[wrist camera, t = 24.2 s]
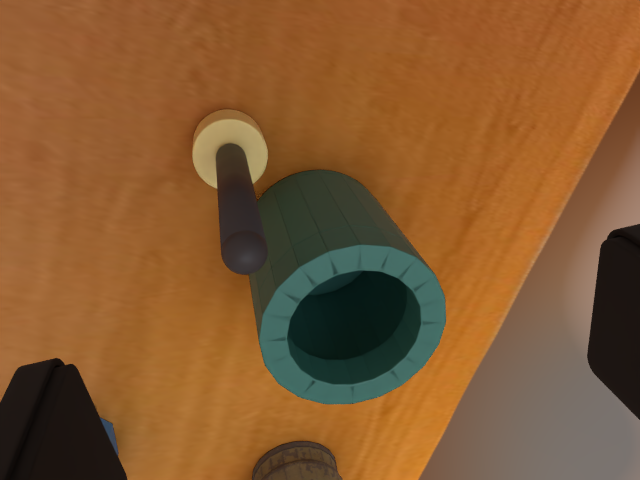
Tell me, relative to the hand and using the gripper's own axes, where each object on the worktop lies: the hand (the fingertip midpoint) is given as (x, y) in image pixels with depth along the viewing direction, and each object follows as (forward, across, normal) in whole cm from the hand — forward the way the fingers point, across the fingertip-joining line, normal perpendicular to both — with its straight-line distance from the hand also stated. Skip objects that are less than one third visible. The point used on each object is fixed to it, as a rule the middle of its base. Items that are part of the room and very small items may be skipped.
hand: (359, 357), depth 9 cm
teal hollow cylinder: (+30, -3, +13) cm, 33 cm away
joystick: (+30, +2, +4) cm, 31 cm away
